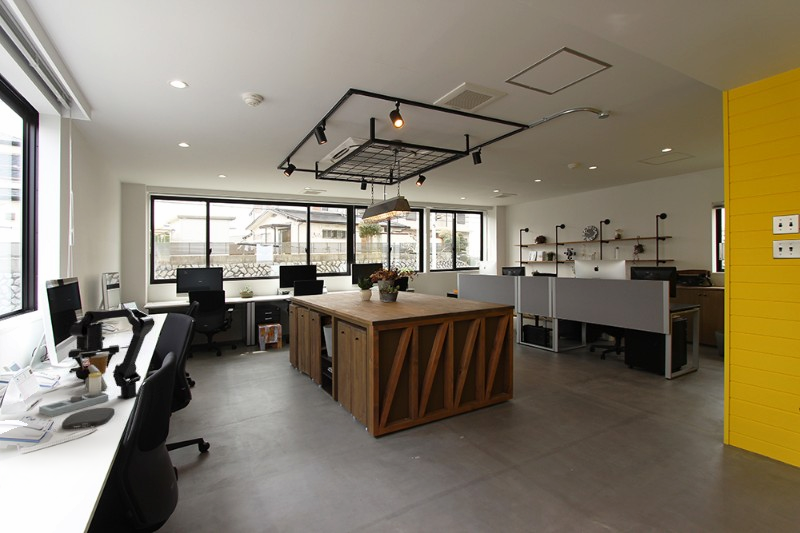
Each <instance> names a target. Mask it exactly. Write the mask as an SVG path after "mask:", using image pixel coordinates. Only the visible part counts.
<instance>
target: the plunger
mask: <svg viewBox="0 0 800 533" xmlns="http://www.w3.org/2000/svg"><path fill="white" fill-rule="evenodd" d="M82 395H83V394H82ZM82 395H80V394H78V395H74V396H71V397H70V398H71V403H75V402H78V401H82Z"/></svg>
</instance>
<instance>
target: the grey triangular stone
mask: <svg viewBox="0 0 800 533" xmlns="http://www.w3.org/2000/svg"><path fill="white" fill-rule="evenodd" d="M88 369H89V371H90V374H91V373H97V372H100V371H99V370H98V369H97V368H96V367H95V366H94V365H90V366H88ZM84 384H85V385H84V386H85V388H86V389H87V391H88V392H89V377H88V378H86V380H85V382H84ZM107 389H108V385H107V383H106V381H105V379H104V377H103V375H101V391H105V390H107Z"/></svg>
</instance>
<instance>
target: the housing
mask: <svg viewBox="0 0 800 533" xmlns="http://www.w3.org/2000/svg"><path fill="white" fill-rule="evenodd" d="M86 394H87V393H85V394H82V401H78V402H75V403H71V397H70V398H67V399H62V400H59V401H56V402H52V403H49V404H45V405H41V406H39V407H38V413H39V414H42V415H45V416H48V417H51V418H53V417H56V416H59V415H62V414H66V413H70V412H73V411H77V410H80V409H83V408H86V407H90V406H93V405H97V404H101V403H103V402H106V401H107V402H108V401H109V394H107V393H106V395H102V396H99V397H95V398H92V399H91V398H88V397H85V396H83V395H86Z"/></svg>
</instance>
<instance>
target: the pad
mask: <svg viewBox="0 0 800 533" xmlns="http://www.w3.org/2000/svg"><path fill="white" fill-rule="evenodd" d="M85 394H86V395H85ZM85 394H82V395H83V396H85V397H88V398H91V399H92V398H95V397H99V396H102V395H106V394H107V393H105V392H102V391H101V394H100V395H97V396H89V393H85Z"/></svg>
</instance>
